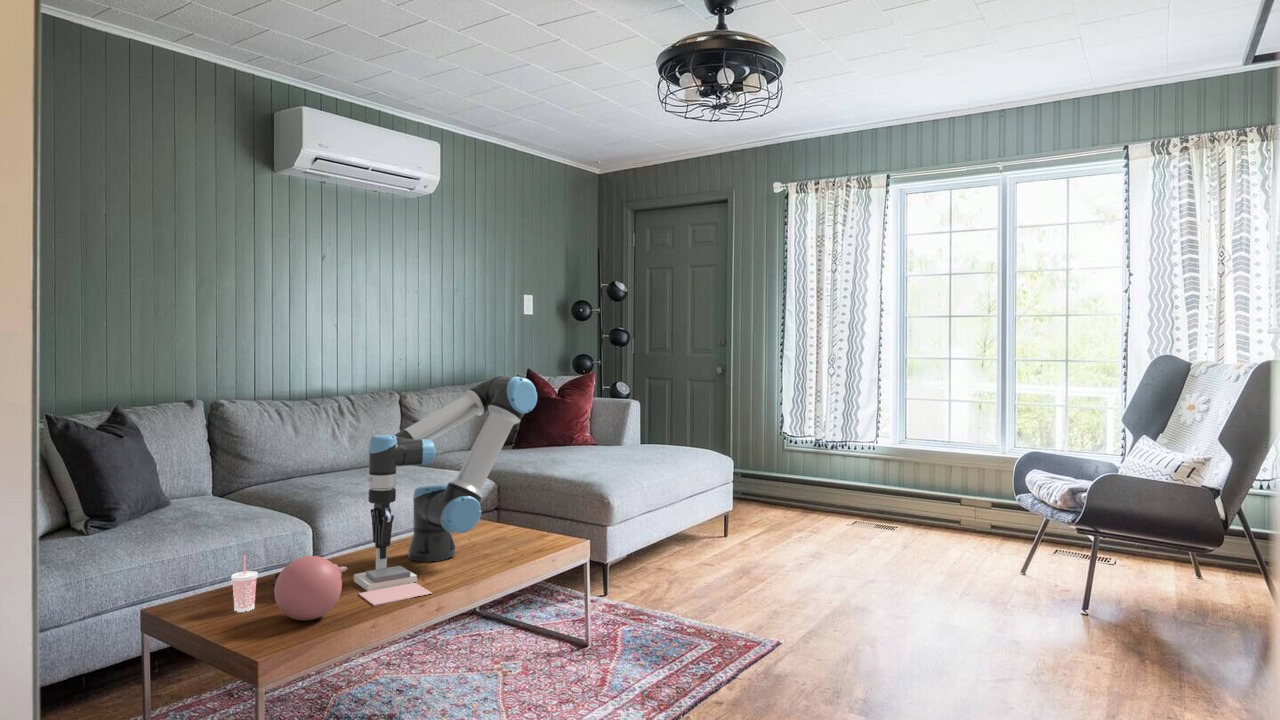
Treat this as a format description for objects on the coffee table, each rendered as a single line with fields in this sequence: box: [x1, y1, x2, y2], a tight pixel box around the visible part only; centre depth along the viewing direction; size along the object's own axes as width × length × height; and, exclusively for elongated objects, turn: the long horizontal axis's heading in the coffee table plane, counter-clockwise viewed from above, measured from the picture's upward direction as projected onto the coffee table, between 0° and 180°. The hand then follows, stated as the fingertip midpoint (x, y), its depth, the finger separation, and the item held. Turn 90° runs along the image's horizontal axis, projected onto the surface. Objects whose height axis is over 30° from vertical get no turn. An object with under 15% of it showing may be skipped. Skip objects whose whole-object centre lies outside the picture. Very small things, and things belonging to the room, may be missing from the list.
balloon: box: [273, 555, 348, 621], centre depth 190 cm, size 15×20×15 cm
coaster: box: [365, 565, 411, 583], centre depth 216 cm, size 10×8×2 cm
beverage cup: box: [230, 554, 259, 613], centre depth 194 cm, size 6×6×14 cm
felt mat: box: [358, 582, 433, 607], centre depth 207 cm, size 16×12×1 cm
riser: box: [353, 566, 418, 592], centre depth 218 cm, size 14×12×2 cm
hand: (381, 569), depth 220 cm, fingers closed
